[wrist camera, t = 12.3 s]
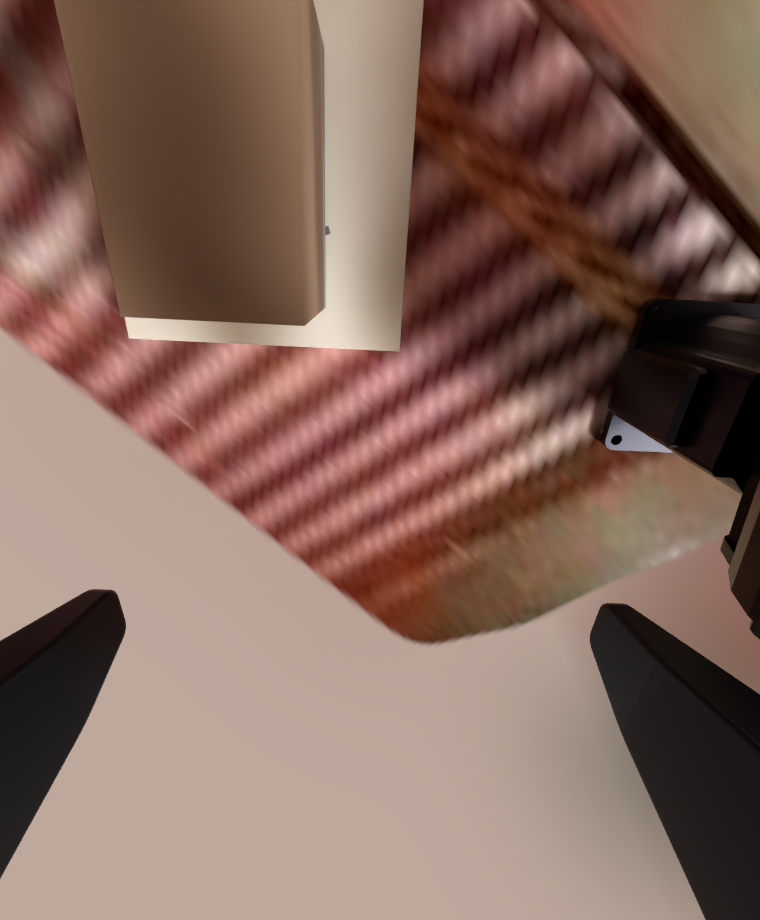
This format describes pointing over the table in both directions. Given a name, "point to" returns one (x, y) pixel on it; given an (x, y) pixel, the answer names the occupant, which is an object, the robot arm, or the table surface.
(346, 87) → the birch board
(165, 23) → the block
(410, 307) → the table surface
